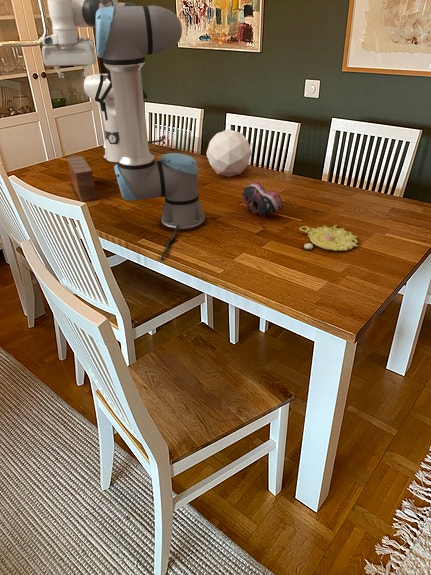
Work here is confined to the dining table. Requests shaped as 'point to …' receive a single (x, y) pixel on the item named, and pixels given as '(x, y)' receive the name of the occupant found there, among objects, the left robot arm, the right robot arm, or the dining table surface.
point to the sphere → (229, 153)
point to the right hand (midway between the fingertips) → (123, 118)
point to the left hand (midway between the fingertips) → (73, 77)
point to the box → (82, 178)
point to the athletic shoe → (261, 200)
